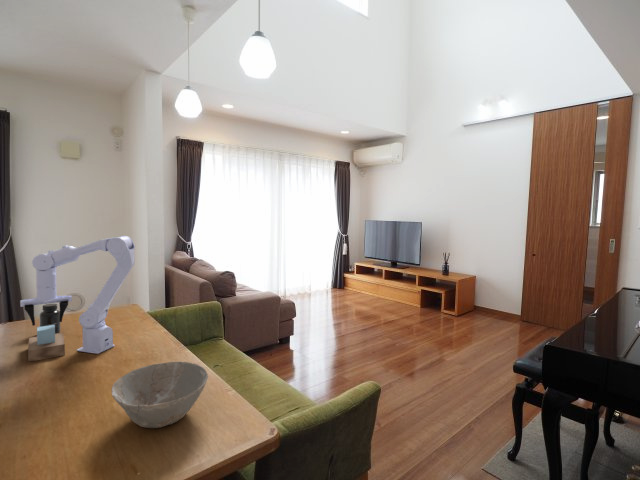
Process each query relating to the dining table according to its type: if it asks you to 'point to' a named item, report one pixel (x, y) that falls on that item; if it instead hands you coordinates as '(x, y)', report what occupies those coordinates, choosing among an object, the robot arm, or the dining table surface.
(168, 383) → the ceramic bowl
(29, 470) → the dining table surface
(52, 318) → the supplement bottle
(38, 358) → the walnut block
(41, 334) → the blue cube
